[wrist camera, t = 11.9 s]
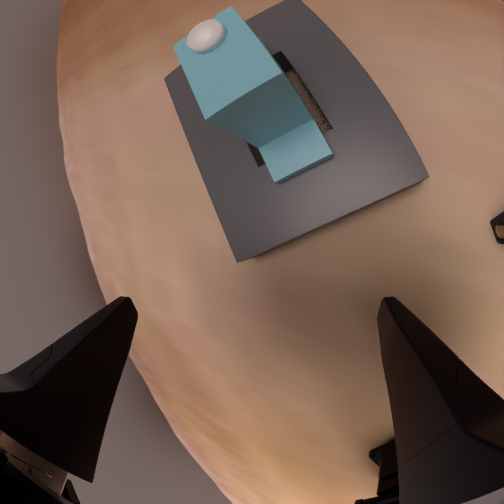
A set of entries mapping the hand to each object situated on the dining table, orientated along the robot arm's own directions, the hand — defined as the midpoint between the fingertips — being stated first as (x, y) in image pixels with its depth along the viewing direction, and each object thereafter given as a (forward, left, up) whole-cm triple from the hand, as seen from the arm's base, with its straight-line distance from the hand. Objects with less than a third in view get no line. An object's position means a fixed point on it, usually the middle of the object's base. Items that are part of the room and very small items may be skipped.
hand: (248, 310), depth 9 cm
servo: (+10, -6, -12) cm, 16 cm away
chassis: (+10, -6, -12) cm, 16 cm away
